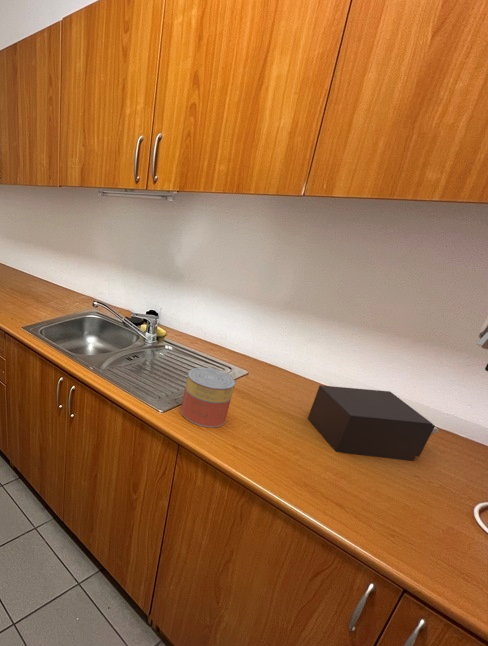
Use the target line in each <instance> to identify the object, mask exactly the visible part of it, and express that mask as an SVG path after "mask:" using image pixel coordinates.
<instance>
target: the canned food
mask: <svg viewBox="0 0 488 646" xmlns="http://www.w3.org/2000/svg"><path fill="white" fill-rule="evenodd" d="M235 386H236V380H235V378H234V377H232V376H231V375H230V374H228V373H227V372H226V371H225V372H224V371H223V370H219V369H216V368H212V367H202V366H199V367H193V368H191V369H189V370H188V371H187V377H186V380H185V387H184V391H183V396H182V400H181V406H180V409H179V412H180V411H181V412H180V414H181V416H182V415H183V416H184V417H185V418H186V421H188V420H189V422H190V423H192V424H194V425H196V426H199V427H203V428H220V427H222V426H224V425H225V424H226V422H227V416H228V413H229V409H230V405H231V401H232V398H233V394H234V389H235ZM183 416H182V417H183ZM184 417H183V418H184ZM185 418H184V419H185Z"/></svg>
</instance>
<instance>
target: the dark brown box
mask: <svg viewBox="0 0 488 646" xmlns="http://www.w3.org/2000/svg"><path fill="white" fill-rule="evenodd" d="M307 420H308V421H309V422H310V424H311V425H312V426H313V427H314V428H315V429H316V430H317V431H318V433H319V434H320V435H321V436H322V437H323V439H324V440H325V441H326V442H327V443H328V444H329V446H330V447H331V448H332V449H333V450H334V452H336V453H342V454H349V455H350V454H351V455H359V456H368V457H377V458H385V459H392V460H393V459H394V460H401V461H411V462H414V461H415V459H416V458H417V457H416V455H417V453H418V451H419V449H420V447H421V445H422V443H423V442H424V440H425V438H426V436H427V434H428V432H429V430H430V428H431V426H432V424H433V423H432V422H431V421H430V420H428V419H427V418H426V417H425V416H424V415H422V414H421V413H420V412H418V411H417V410H415V409H414V408H412V407H411V406H410V405H408V404H407V403H406V402H405V401H403V399H401V398H399V396H397V395H395V393H393V392H392V391H390V390H377V389H365V388H357V387H355V388H353V387H345V386H344V387H343V386H333V385H322V384H319V385H318V389H317V391H316V395H315V397H314V399H313V402H312V405H311V408H310V411H309V413H308V416H307Z"/></svg>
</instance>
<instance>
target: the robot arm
mask: <svg viewBox="0 0 488 646" xmlns="http://www.w3.org/2000/svg"><path fill="white" fill-rule="evenodd" d="M478 338H479V340H478V341H477V342H476V346H477V347H479V348H481V349H485V350H488V316H487V317H486V319H485V320H484V322H483V323H482V326H481V328H480V329H479V332H478ZM484 370H485V371H486V372H488V363H486V366H485V367H484Z"/></svg>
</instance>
